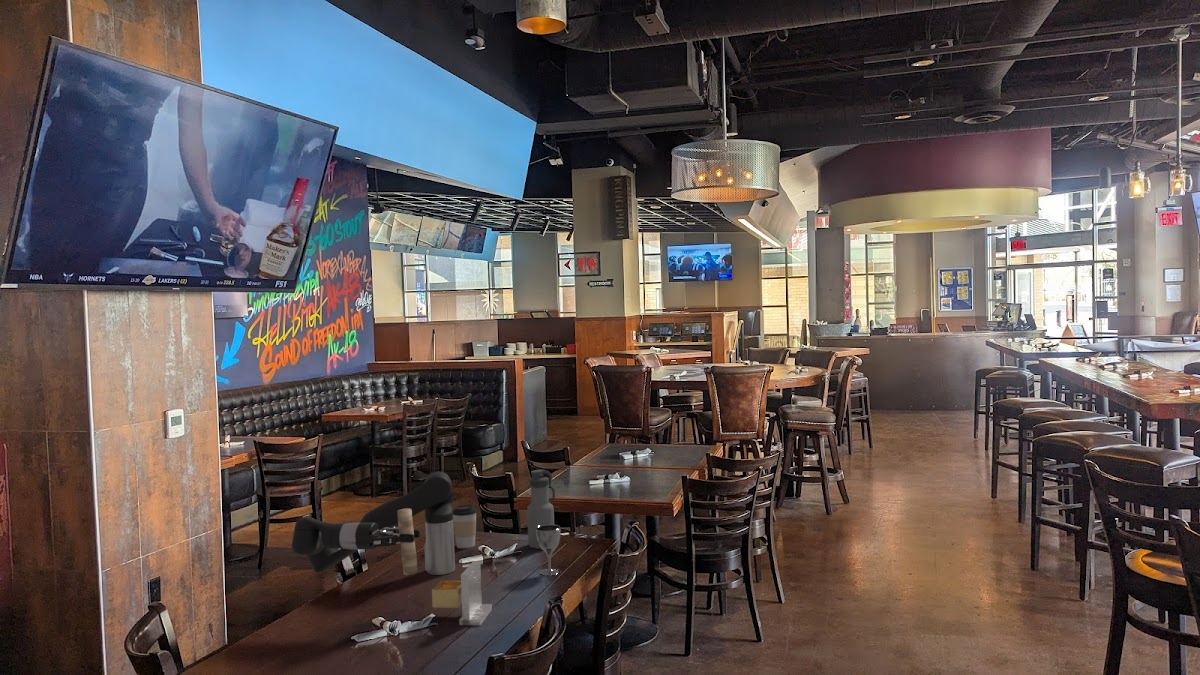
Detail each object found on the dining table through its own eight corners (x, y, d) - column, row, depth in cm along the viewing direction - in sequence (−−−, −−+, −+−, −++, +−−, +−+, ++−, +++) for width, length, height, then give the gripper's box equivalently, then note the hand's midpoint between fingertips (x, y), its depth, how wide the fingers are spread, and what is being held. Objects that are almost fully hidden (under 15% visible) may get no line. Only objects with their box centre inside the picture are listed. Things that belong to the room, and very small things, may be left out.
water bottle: (542, 540, 294) (539, 466, 293) (561, 544, 288) (558, 469, 287) (523, 546, 286) (520, 471, 285) (542, 551, 280) (539, 474, 279)
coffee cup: (448, 547, 288) (447, 507, 288) (463, 541, 296) (462, 502, 296) (468, 550, 284) (466, 509, 284) (482, 543, 292) (481, 504, 292)
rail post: (400, 573, 221) (394, 511, 220) (412, 569, 224) (405, 507, 223) (409, 575, 218) (402, 512, 218) (420, 571, 221) (414, 509, 221)
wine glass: (560, 576, 251) (559, 530, 251) (536, 576, 251) (534, 531, 251) (562, 568, 259) (560, 524, 259) (539, 569, 259) (537, 524, 259)
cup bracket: (430, 624, 214) (428, 574, 214) (444, 608, 226) (442, 561, 226) (480, 625, 212) (478, 575, 212) (492, 609, 224) (490, 561, 224)
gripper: (370, 541, 230) (426, 541, 227) (349, 556, 216) (407, 556, 213) (369, 516, 229) (425, 516, 227) (347, 529, 215) (406, 529, 213)
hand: (416, 535), depth 220 cm, fingers closed on rail post, 4 cm apart
